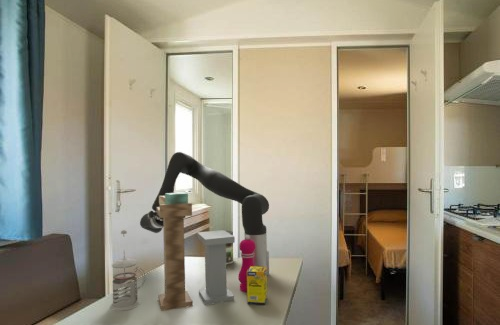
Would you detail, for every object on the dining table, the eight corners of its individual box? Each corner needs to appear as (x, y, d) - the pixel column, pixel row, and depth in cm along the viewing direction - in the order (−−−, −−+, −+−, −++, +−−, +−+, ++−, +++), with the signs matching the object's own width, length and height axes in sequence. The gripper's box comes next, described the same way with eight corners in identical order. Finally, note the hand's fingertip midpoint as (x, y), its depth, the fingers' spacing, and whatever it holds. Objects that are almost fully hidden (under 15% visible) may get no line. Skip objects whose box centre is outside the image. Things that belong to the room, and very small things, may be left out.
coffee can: (234, 258, 171) (233, 230, 171) (232, 264, 160) (232, 234, 161) (213, 259, 171) (212, 230, 171) (210, 265, 161) (209, 234, 161)
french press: (116, 298, 122) (115, 227, 122) (149, 298, 122) (148, 227, 122) (104, 310, 112) (102, 233, 113) (139, 310, 112) (138, 232, 112)
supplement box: (265, 305, 114) (264, 271, 114) (247, 304, 115) (246, 271, 115) (267, 298, 119) (267, 266, 119) (250, 297, 121) (249, 265, 121)
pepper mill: (260, 286, 131) (259, 233, 131) (254, 293, 124) (253, 237, 124) (242, 285, 133) (241, 232, 133) (235, 291, 126) (234, 236, 127)
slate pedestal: (225, 289, 129) (223, 230, 129) (236, 302, 117) (234, 236, 117) (198, 293, 125) (197, 232, 125) (206, 307, 113) (205, 239, 113)
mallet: (170, 203, 133) (170, 190, 133) (188, 208, 115) (187, 193, 115) (155, 204, 130) (154, 190, 130) (170, 210, 112) (169, 194, 112)
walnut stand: (187, 294, 124) (185, 199, 125) (194, 308, 112) (191, 203, 112) (158, 299, 121) (156, 201, 121) (162, 313, 109) (159, 205, 109)
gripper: (144, 209, 146) (153, 202, 133) (177, 209, 153) (189, 203, 139) (143, 227, 144) (152, 222, 130) (177, 227, 151) (189, 222, 137)
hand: (171, 212), depth 135 cm, fingers open, 8 cm apart
